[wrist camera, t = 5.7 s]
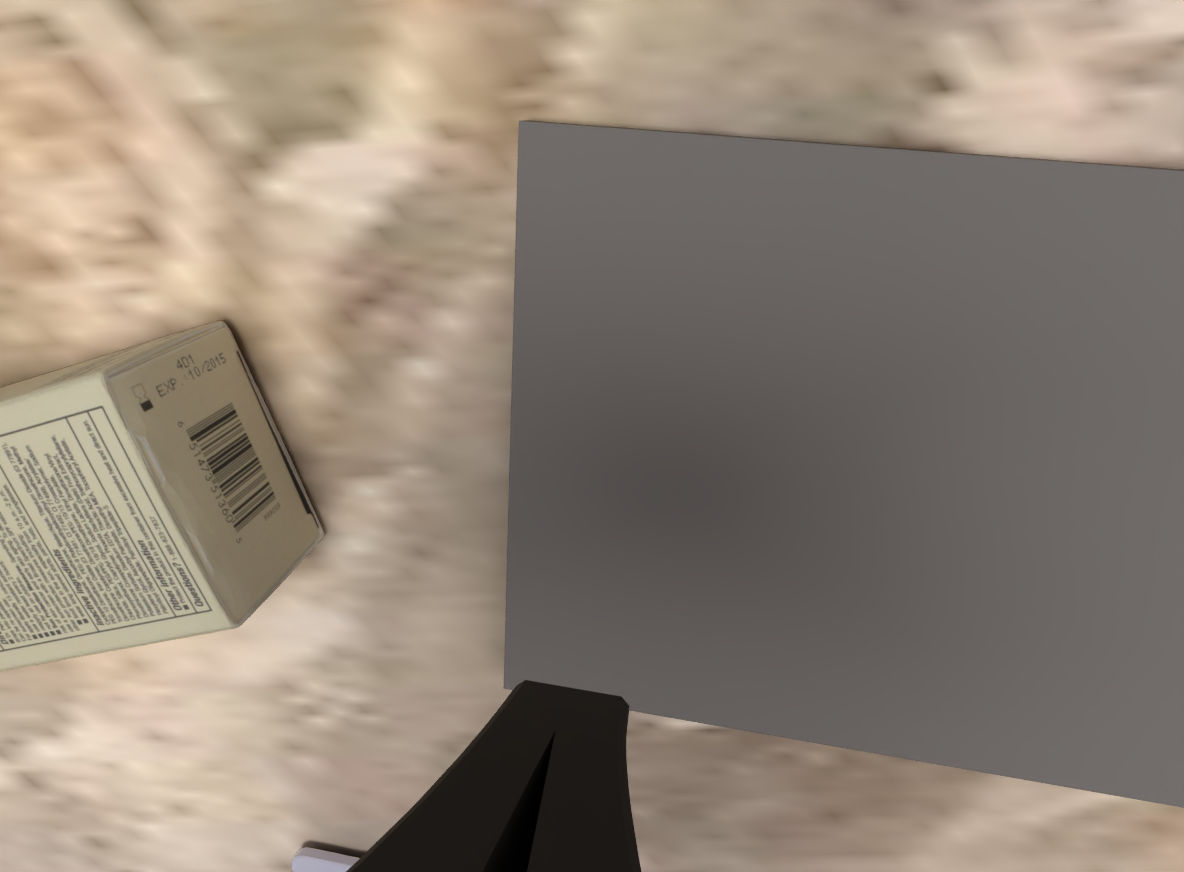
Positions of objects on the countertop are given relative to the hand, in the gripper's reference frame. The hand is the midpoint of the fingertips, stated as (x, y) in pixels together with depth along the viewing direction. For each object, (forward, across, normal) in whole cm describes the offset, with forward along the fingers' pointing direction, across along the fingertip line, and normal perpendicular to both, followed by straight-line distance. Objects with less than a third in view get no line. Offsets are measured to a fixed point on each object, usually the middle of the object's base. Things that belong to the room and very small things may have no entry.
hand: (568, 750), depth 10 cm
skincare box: (+7, +9, +1) cm, 11 cm away
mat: (+9, -5, 0) cm, 11 cm away
